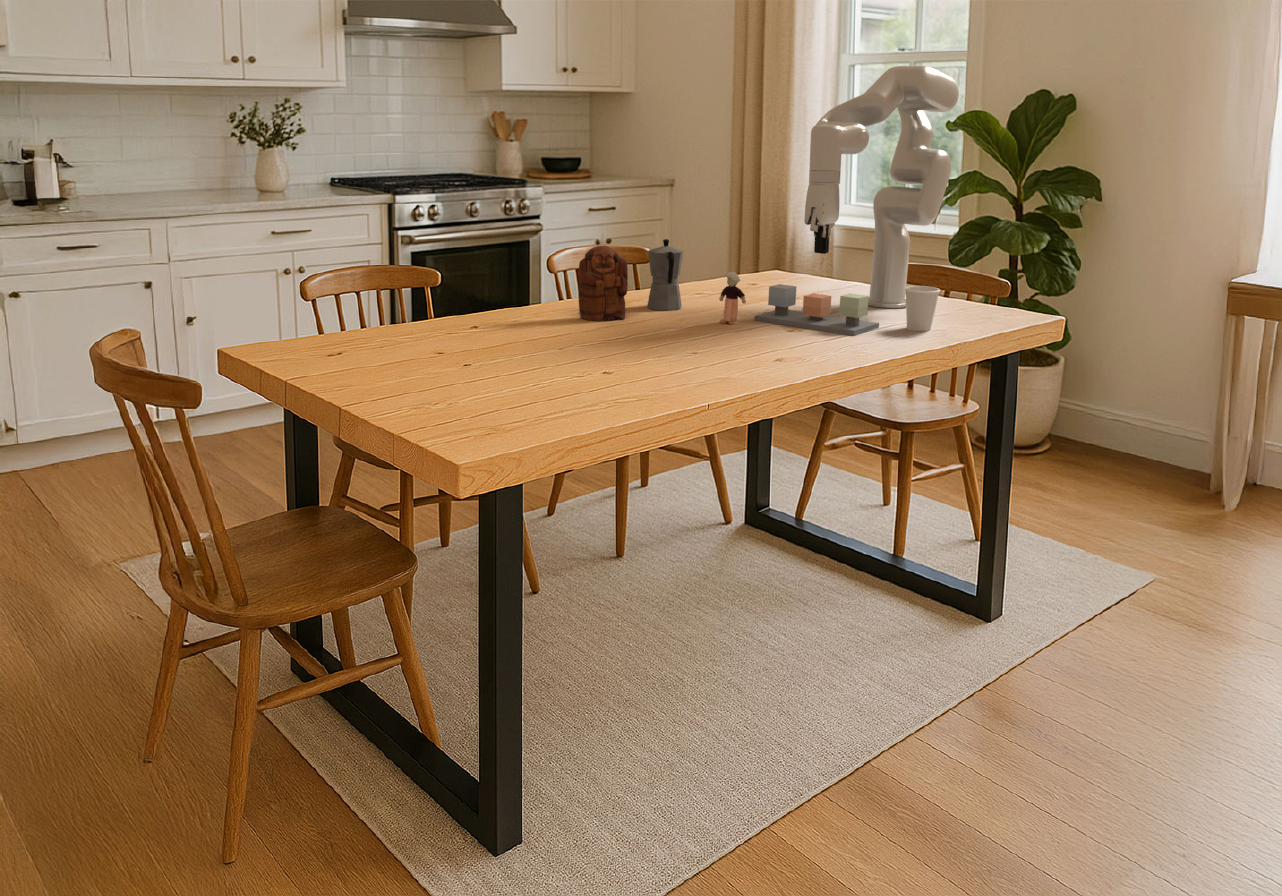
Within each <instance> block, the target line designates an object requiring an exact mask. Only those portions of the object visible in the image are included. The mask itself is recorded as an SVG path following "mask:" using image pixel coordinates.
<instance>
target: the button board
mask: <svg viewBox="0 0 1282 896" xmlns="http://www.w3.org/2000/svg"><path fill="white" fill-rule="evenodd" d="M753 318H754V319H753V320H754V321H757V322H764V323H770V324H777V325H782V326H783V325H784V326H790V327H795V328H803V329H808V330H815V331H821V332H827V333H835V334H840V335H841V334H842V335H848V336H858V335H861V334H864V333H867V332H871V331H873V330H876V329H879V328H880V322H876V321H875V322H874V321H868V320H862V319H860V318H861V317H859V318H854V317H848V316H845V317H843V316H834V315H827V316H823V317H814V316H808V315H803V311H800V310H793V309H789V307H778V306H774V310H770V311H766V312H763V313H758V314H754V315H753Z"/></svg>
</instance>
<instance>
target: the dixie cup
mask: <svg viewBox="0 0 1282 896" xmlns="http://www.w3.org/2000/svg"><path fill="white" fill-rule="evenodd" d="M905 290H906V294H905V299H906V307H905V308H906V309H905V310H906V312H905V313H906V329H907V330H908V331H915V332H929V331H932V330H931V328H932V324H933V321H934V317H935V311H936V306H937V303H938V299H939V294H940V292H941V289H940V288H938V287H935V286H927V285H909V286H908V285H907V286H906V288H905Z"/></svg>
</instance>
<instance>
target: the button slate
mask: <svg viewBox="0 0 1282 896" xmlns="http://www.w3.org/2000/svg"><path fill="white" fill-rule="evenodd" d="M796 298H797V286H796V285H789V284H782V283H781V284H780V283H779V284H778V283H777V284H774V285H770V286H768V301H767V305H768V306H774V307H775V306H778V307H788V308H789V307H792V306H796Z"/></svg>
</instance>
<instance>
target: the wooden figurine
mask: <svg viewBox="0 0 1282 896" xmlns="http://www.w3.org/2000/svg"><path fill="white" fill-rule="evenodd" d="M628 271H629V268H628V262H627V260H626V259H625V258H623V257H621V256H620V254H619V252H617V251H616V250H615V249H614V248H613V247H610V246H608V245H596V246H593V247H592V248H590V249H589V250H587V252H586V253H585V254H584V257H583V258H582V259H580V261H579V264H578V280H579V282H580V283H579V286H578V309H579V316H580V318H581V319H582V320H586V321H591V322H592V321H593V322H602V321H615V320H625V319H626V300H625V296H626V295H627V293H628V289H629V288H628V287H629V286H628V285H629V282H628V279H629V278H628V277H629V275H628V274H629V273H628Z"/></svg>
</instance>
